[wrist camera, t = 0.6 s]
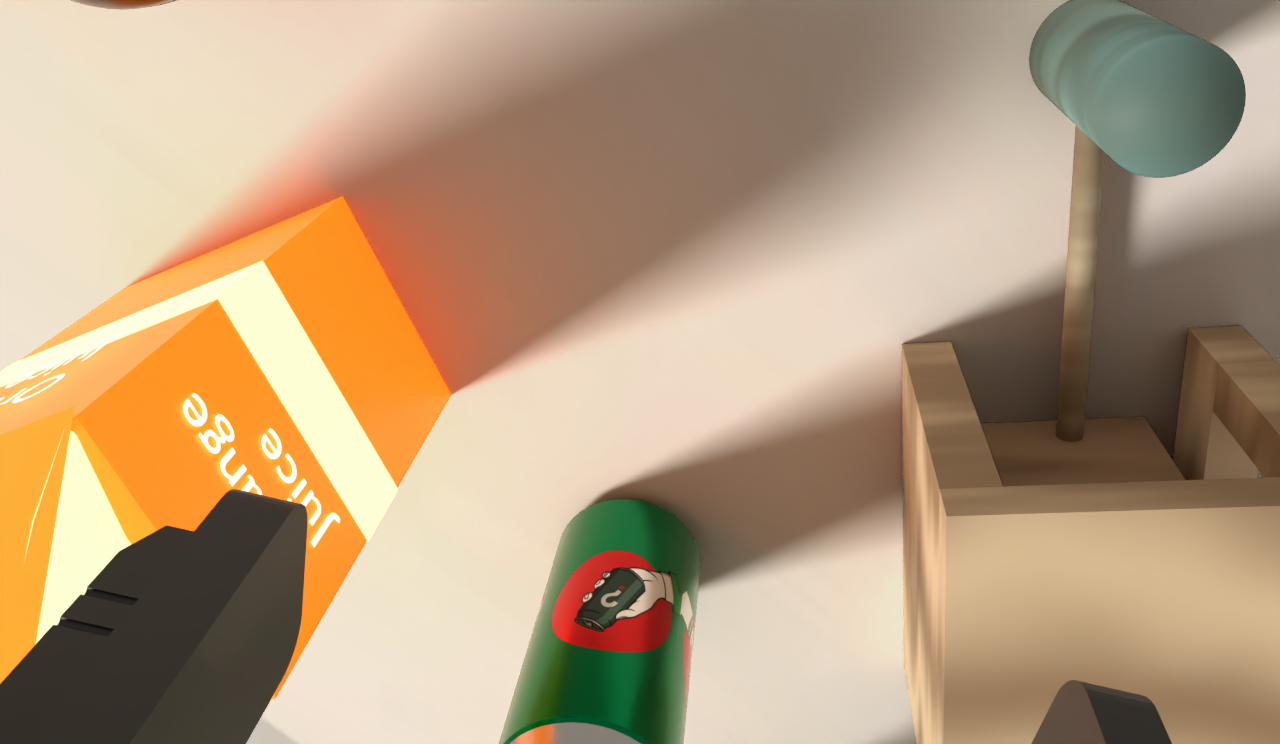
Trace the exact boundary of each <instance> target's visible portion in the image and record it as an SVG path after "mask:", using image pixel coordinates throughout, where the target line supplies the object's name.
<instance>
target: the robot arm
mask: <svg viewBox="0 0 1280 744" xmlns="http://www.w3.org/2000/svg"><path fill="white" fill-rule="evenodd" d="M307 526H308V515H307V509H306V507H305V505H303V504H300V503H296V502H291V501H287V500H282V499H278V498H274V497H269V496H265V495H260V494H256V493H251V492H247V491H242V490H238V489H231V490H229V491H228V492H226V493H225V494H224V495H223V497H222V498H221V499H220V500H219V501H218V503H217V504H216V505H215V506H214V507H213V509H212V510H211V511H210V512H209V514H208V515H207V516H206V517H205V518H204V520H203V521H202V522H201V523H200V525H199V526H198V527H197V528H196V529H195V531H190V530H186V529H181V528H177V527H172V526H168V525H166V526H164V527H162V528H161V529H159V530H157V531H155V532H153V533H151V534H150V535H148V536H146V537H144V538H142V539H141V540H139V541H137V542H135V543H133V544H131V545H130V546H128V547H126V548H124V549H122V550H121V551H119V552H118V553H117V554H116V555H115V556H114V558H113V559H112V560H111V561H110V562H109V563H108V564H107V565H106V566H105V568H104V569H103V570H102V571H101V572H100V573H99V574H98V575H97V576H96V578H95V579H94V580H93V581H92V582H91V583H90V584H89V585H88V586H87V590H86V593H85V594H84V595H82V594H80V595H79V597H78V598H77V599H76V600H75V601H74V602H73V603H72V604H71V605H70V607H69V608H68V609H67V610H66V611H65V612H64V613H63V614H62V615H61V617H60V621H59V623H58V625H52V627H51V628H50V629H49V630H48V631H47V632H46V633H45V634H44V636H43V637H42V638H41V639H40V640H39V641H38V642H37V643H36V644H35V646H34V647H33V648H32V649H31V650H30V651H29V652H28V653H27V654H26V656H25V657H24V658H23V659H22V660H21V661H20V662H19V663H18V665H17V666H16V667H15V668H14V669H13V670H12V671H11V672H10V673H9V675H8V676H7V677H6V678H5V679H4V680H3V681H2V682H1V683H0V744H246V742H247V741H248V739H249V737H250V735H251V733H252V732H253V730H254V728H255V726H256V725H257V723H258V721H259V719H260V718H261V716H262V714H263V712H264V711H265V709H266V707H267V705H268V704H269V702H270V700H271V698H272V697H273V695H274V693H275V691H276V690H277V688H278V686H279V684H280V683H281V681H282V679H283V677H284V675H285V673H286V671H287V669H288V666H289V664H290V661H291V659H292V656H293V653H294V650H295V647H296V644H297V640H298V636H299V631H300V626H301V620H302V607H303V591H304V575H305V558H306V542H307ZM1031 744H1172V742H1171V740H1170V738H1169V736H1168V733H1167V731H1166V729H1165V727H1164V724H1163V722H1162V720H1161V718H1160V715H1159V713H1158V711H1157V709H1156V707H1155V705H1154V704H1153V702H1152V701H1151V700H1150V699H1149V698H1147V697H1146V696H1143V695H1139V694H1135V693H1130V692H1126V691H1121V690H1117V689H1112V688H1108V687H1104V686H1099V685H1095V684H1090V683H1086V682H1081V681H1077V680H1070V681H1068V682H1066V683H1065V684H1064V685H1063V686H1062V687H1061V688H1060V689H1059V691H1058V693H1057V694H1056V696H1055V698H1054V700H1053V702H1052V704H1051V706H1050V708H1049V710H1048V712H1047V714H1046V716H1045V718H1044V720H1043V722H1042V724H1041V726H1040V728H1039V730H1038V732H1037V733H1036V735H1035V737H1034V739H1033V741H1032V743H1031Z"/></svg>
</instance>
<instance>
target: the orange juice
mask: <svg viewBox="0 0 1280 744" xmlns="http://www.w3.org/2000/svg"><path fill="white" fill-rule="evenodd" d="M450 396H451V393H450V391H449V389H448V387H447V386H446V384H445V382H444V380H443V378H442V376H441V375H440V373H439V371H438V369H437V367H436V365H435V364H434V362H433V360H432V358H431V356H430V354H429V353H428V351H427V349H426V347H425V345H424V344H423V342H422V340H421V338H420V336H419V334H418V333H417V331H416V329H415V327H414V325H413V323H412V322H411V320H410V318H409V316H408V314H407V312H406V311H405V309H404V307H403V305H402V303H401V302H400V300H399V298H398V296H397V294H396V292H395V291H394V289H393V287H392V285H391V283H390V281H389V280H388V278H387V276H386V274H385V272H384V270H383V269H382V267H381V265H380V263H379V261H378V260H377V258H376V256H375V254H374V252H373V250H372V249H371V247H370V245H369V243H368V241H367V239H366V238H365V236H364V234H363V232H362V230H361V228H360V227H359V225H358V223H357V221H356V219H355V218H354V216H353V214H352V212H351V210H350V208H349V207H348V205H347V203H346V201H345V199H344V197H343V196H341V197H339V198H337V199H334V200H332V201H330V202H327V203H325V204H323V205H320V206H318V207H315V208H313V209H311V210H308V211H306V212H304V213H301V214H299V215H296V216H294V217H292V218H289V219H287V220H285V221H282V222H280V223H277V224H275V225H273V226H270V227H268V228H266V229H263V230H261V231H258V232H256V233H254V234H251V235H249V236H247V237H244V238H242V239H239V240H237V241H235V242H232V243H230V244H228V245H225V246H223V247H220V248H218V249H216V250H213V251H211V252H209V253H206V254H204V255H201V256H199V257H197V258H194V259H192V260H190V261H187V262H185V263H182V264H180V265H178V266H175V267H173V268H171V269H168V270H166V271H163V272H161V273H159V274H156V275H154V276H152V277H149V278H147V279H144V280H142V281H140V282H137V283H135V284H133V285H130V286H128V287H126V288H124V289H123V290H121V291H120V292H118V293H117V294H115V295H114V296H113V297H111V298H110V299H108V300H107V301H105V302H104V303H102V304H101V305H99V306H98V307H97V308H95V309H94V310H92V311H91V312H89V313H88V314H86V315H85V316H83V317H82V318H81V319H79V320H78V321H76V322H75V323H73V324H72V325H70V326H69V327H67V328H66V329H65V330H63V331H62V332H60V333H59V334H57V335H56V336H54V337H53V338H52V339H50V340H49V341H47V342H46V343H44V344H43V345H41V346H40V347H38V348H37V349H36V350H34V351H33V352H31V353H30V354H28V355H27V356H25V357H24V358H22V359H21V360H20V361H18V362H15V363H13V364H11V365H9V366H8V367H7V368H5V369H4V370H2V371H1V372H0V683H1V682H2V681H3V680H4V679H5V678H6V677H7V676H8V675H9V673H10V672H11V671H12V670H13V669H14V668H15V667H16V666H17V665H18V663H19V662H20V661H21V660H22V659H23V658H24V657H25V656H26V654H27V653H28V652H29V651H30V650H31V649H32V648H33V647H34V646H35V644H36V643H37V642H38V641H39V640H40V639H41V638H42V637H43V636H44V634H45V633H46V632H47V631H48V630H49V629H50V628H51V627H52V625H58V623H59V621H60V617H61V615H62V614H63V613H64V612H65V611H66V610H67V609H68V608H69V607H70V605H71V604H72V603H73V602H74V601H75V600H76V599H77V598H78V597H79V595H80V594H82V595H84V594H85V593H86V590H87V586H88V585H89V584H90V583H91V582H92V581H93V580H94V579H95V578H96V576H97V575H98V574H99V573H100V572H101V571H102V570H103V569H104V568H105V566H106V565H107V564H108V563H109V562H110V561H111V560H112V559H113V558H114V556H115V555H116V554H117V553H118V552H119V551H121V550H122V549H124V548H126V547H128V546H130V545H131V544H133V543H135V542H137V541H139V540H141V539H142V538H144V537H146V536H148V535H150V534H151V533H153V532H155V531H157V530H159V529H161V528H162V527H164V526H166V525H168V526H172V527H177V528H181V529H186V530H190V531H195V529H196V528H197V527H198V526H199V525H200V523H201V522H202V521H203V520H204V518H205V517H206V516H207V515H208V514H209V512H210V511H211V510H212V509H213V507H214V506H215V505H216V504H217V503H218V501H219V500H220V499H221V498H222V497H223V495H224V494H225V493H226V492H228V491H229V490H231V489H238V490H242V491H247V492H251V493H256V494H260V495H265V496H269V497H274V498H278V499H282V500H287V501H291V502H296V503H300V504H303V505H305V507H306V509H307V515H308V526H307V542H306V558H305V575H304V591H303V607H302V620H301V626H300V631H299V636H298V640H297V644H296V647H295V650H294V653H293V656H292V659H291V661H290V664H289V666H288V669H287V671H286V673H285V675H284V677H283V679H282V681H281V683H280V684H279V686H278V688H277V690H276V691H275V693H274V695H273V697H272V698H271V699H275V698H276V697H277V695H278V693H279V691H280V690H281V688H282V686H283V684H284V683H285V681H286V679H287V678H288V676H289V674H290V672H291V671H292V669H293V667H294V665H295V664H296V662H297V660H298V659H299V657H300V655H301V653H302V652H303V650H304V648H305V646H306V645H307V643H308V641H309V640H310V638H311V636H312V634H313V633H314V631H315V629H316V627H317V626H318V624H319V622H320V621H321V619H322V617H323V615H324V614H325V612H326V610H327V609H328V607H329V605H330V603H331V602H332V600H333V598H334V596H335V595H336V593H337V591H338V590H339V588H340V586H341V584H342V583H343V581H344V579H345V577H346V576H347V574H348V572H349V571H350V569H351V567H352V565H353V564H354V562H355V560H356V558H357V557H358V555H359V553H360V552H361V550H362V548H363V546H364V545H365V543H366V542H367V541H369V540H370V538H371V537H372V535H373V533H374V531H375V530H376V528H377V526H378V525H379V523H380V521H381V519H382V518H383V516H384V514H385V512H386V511H387V509H388V507H389V505H390V504H391V502H392V500H393V498H394V497H395V495H396V493H397V492H398V486H399V484H400V483H401V481H402V479H403V477H404V476H405V474H406V472H407V470H408V469H409V467H410V465H411V464H412V462H413V460H414V458H415V457H416V455H417V453H418V452H419V450H420V448H421V446H422V445H423V443H424V441H425V439H426V438H427V436H428V434H429V433H430V431H431V429H432V427H433V426H434V424H435V422H436V420H437V419H438V417H439V415H440V414H441V412H442V410H443V408H444V407H445V405H446V403H447V401H448V400H449V398H450Z"/></svg>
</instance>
